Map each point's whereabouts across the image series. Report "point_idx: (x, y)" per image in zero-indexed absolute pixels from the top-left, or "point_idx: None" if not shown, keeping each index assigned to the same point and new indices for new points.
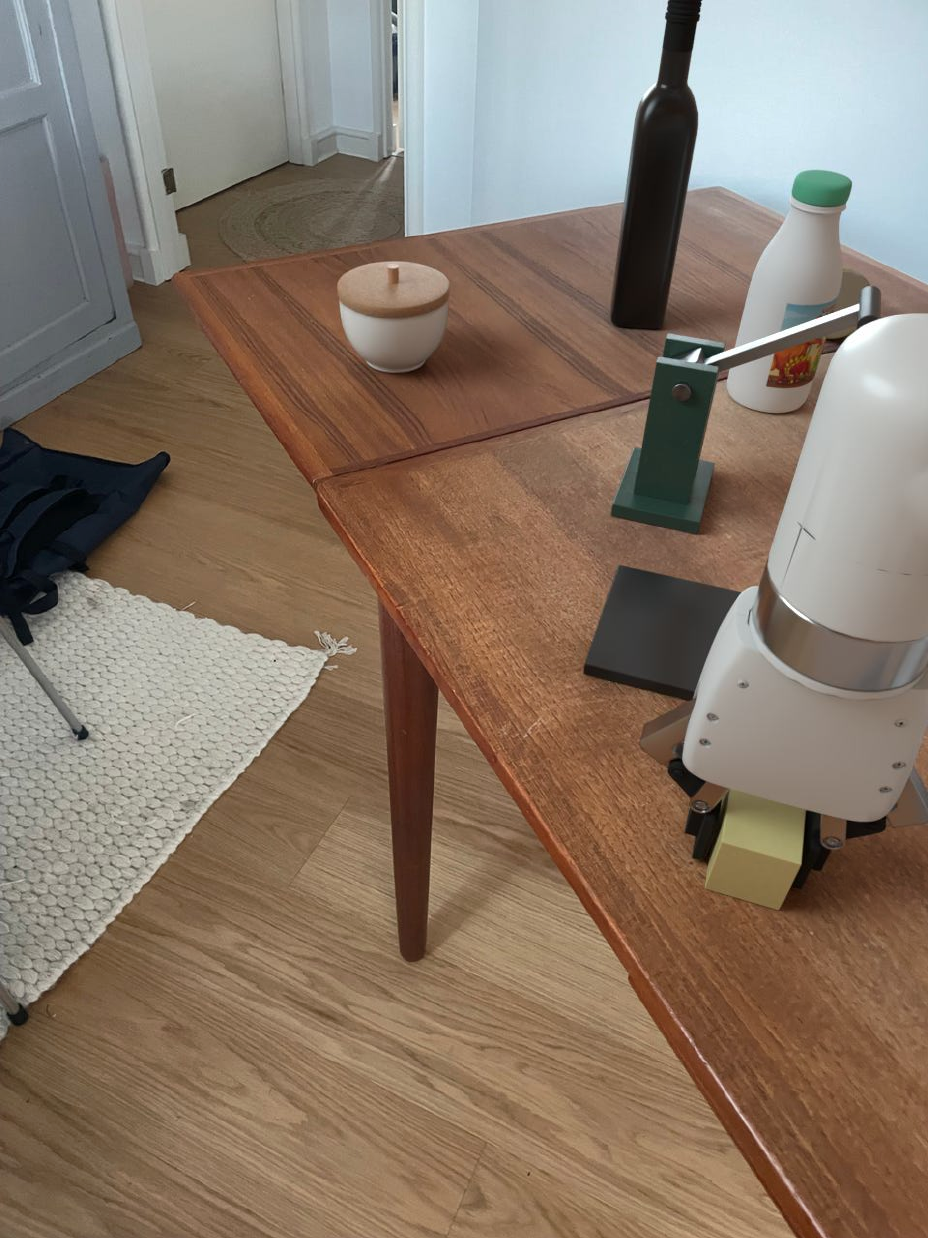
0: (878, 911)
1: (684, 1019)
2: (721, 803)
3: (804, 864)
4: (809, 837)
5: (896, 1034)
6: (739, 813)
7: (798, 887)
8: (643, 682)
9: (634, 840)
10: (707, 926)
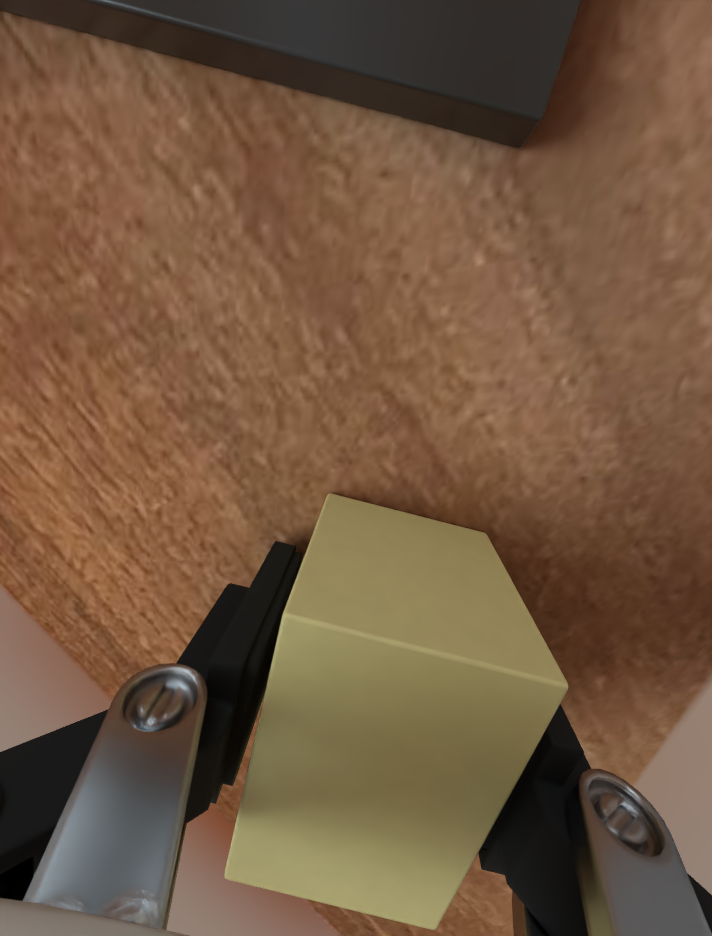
0: (609, 705)
1: None
2: (239, 745)
3: None
4: (489, 837)
5: None
6: (278, 815)
7: None
8: (72, 8)
9: (149, 589)
10: None
